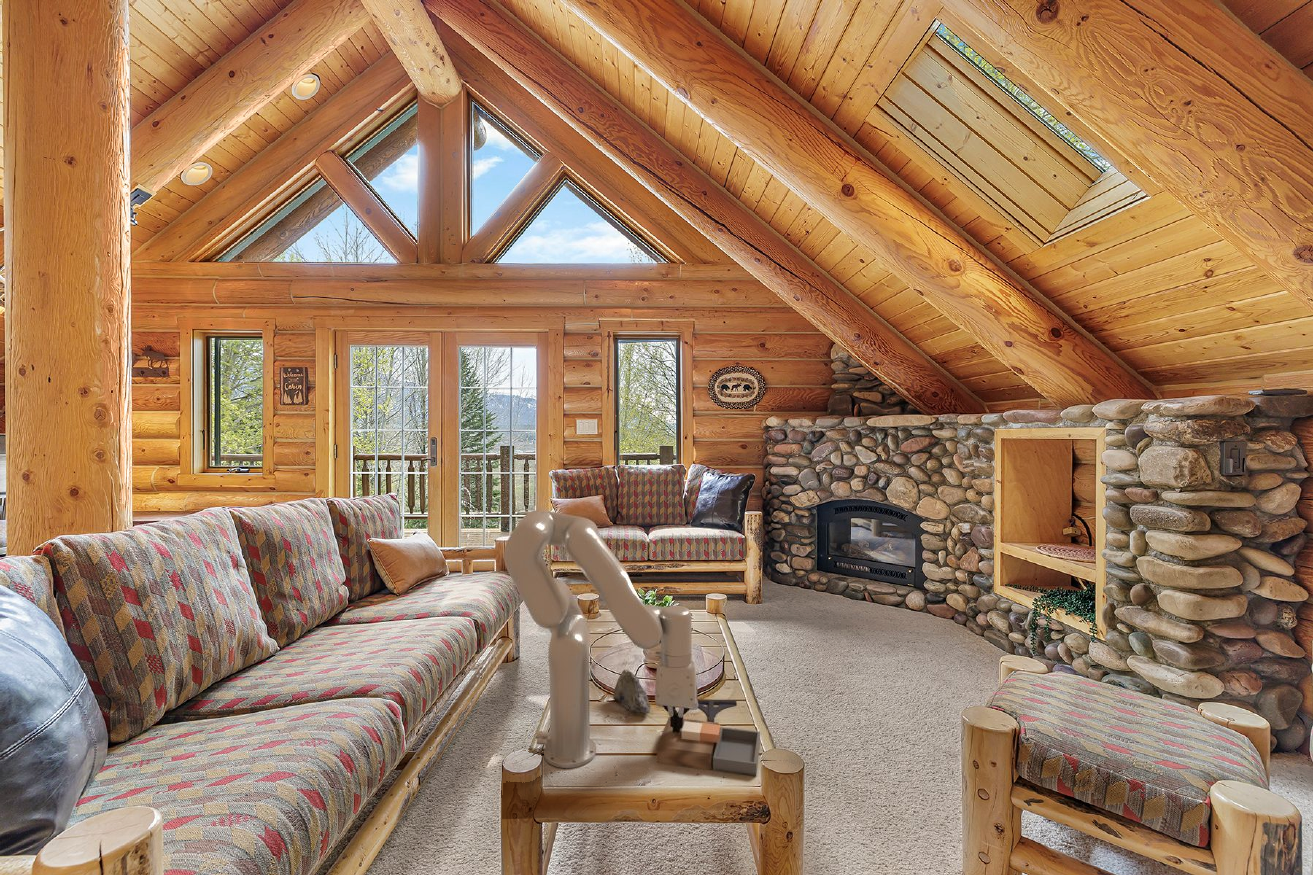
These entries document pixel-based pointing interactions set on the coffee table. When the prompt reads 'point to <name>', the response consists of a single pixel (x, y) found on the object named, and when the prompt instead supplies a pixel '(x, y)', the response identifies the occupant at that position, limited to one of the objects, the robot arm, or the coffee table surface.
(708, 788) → the coffee table surface
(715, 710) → the bracket
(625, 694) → the mineral rock
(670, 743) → the tan square panel
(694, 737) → the cream tile
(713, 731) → the terracotta tile
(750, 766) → the box
